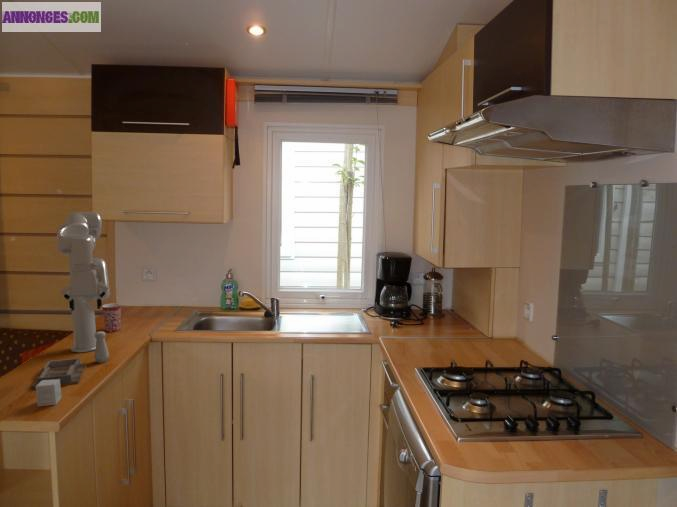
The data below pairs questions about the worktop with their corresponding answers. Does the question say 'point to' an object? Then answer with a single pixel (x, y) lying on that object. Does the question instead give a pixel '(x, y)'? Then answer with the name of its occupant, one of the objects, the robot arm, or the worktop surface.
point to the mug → (112, 317)
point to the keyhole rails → (57, 363)
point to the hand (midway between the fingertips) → (86, 309)
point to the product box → (48, 392)
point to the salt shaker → (101, 348)
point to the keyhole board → (62, 371)
